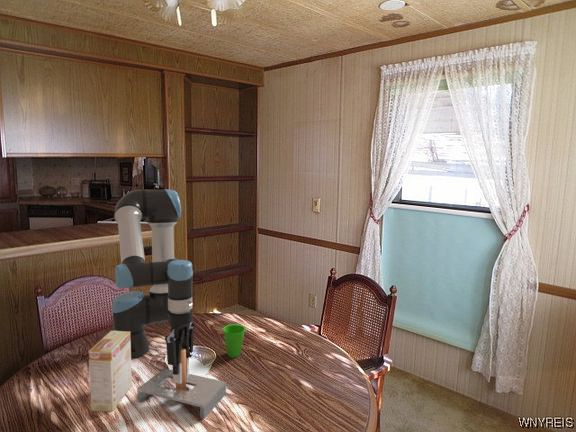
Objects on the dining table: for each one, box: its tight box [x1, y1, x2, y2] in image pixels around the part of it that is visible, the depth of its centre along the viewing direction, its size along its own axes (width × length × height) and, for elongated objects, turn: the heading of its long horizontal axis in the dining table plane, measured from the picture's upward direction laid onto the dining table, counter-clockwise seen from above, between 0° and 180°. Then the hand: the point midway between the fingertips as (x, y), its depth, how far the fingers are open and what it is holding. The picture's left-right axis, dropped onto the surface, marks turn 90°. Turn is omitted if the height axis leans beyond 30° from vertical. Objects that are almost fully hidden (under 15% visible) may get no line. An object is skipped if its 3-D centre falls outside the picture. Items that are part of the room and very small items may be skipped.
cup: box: [222, 323, 247, 359], centre depth 161 cm, size 9×9×11 cm
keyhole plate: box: [136, 367, 227, 420], centre depth 131 cm, size 24×14×4 cm, turn 71°
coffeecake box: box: [88, 330, 133, 413], centre depth 130 cm, size 15×7×20 cm, turn 178°
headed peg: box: [173, 348, 190, 391], centre depth 131 cm, size 5×5×15 cm
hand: (180, 379), depth 131 cm, fingers closed on headed peg, 3 cm apart
